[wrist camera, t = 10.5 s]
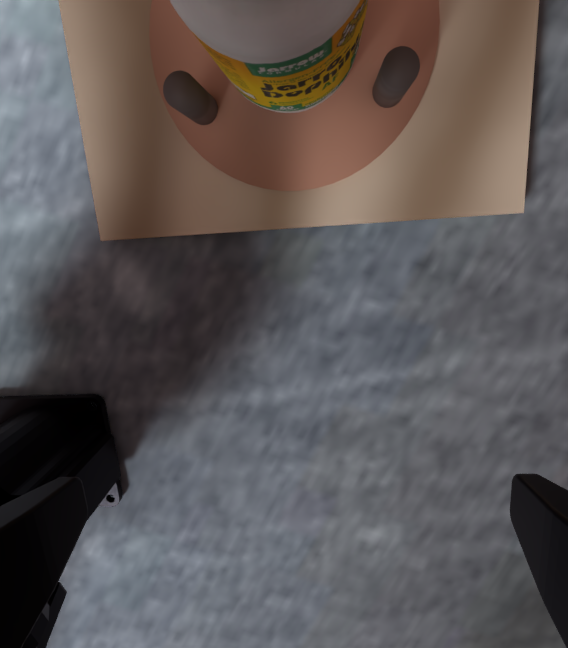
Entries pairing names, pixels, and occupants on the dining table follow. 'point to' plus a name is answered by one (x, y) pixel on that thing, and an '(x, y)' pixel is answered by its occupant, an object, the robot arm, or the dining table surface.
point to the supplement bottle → (279, 46)
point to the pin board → (304, 122)
